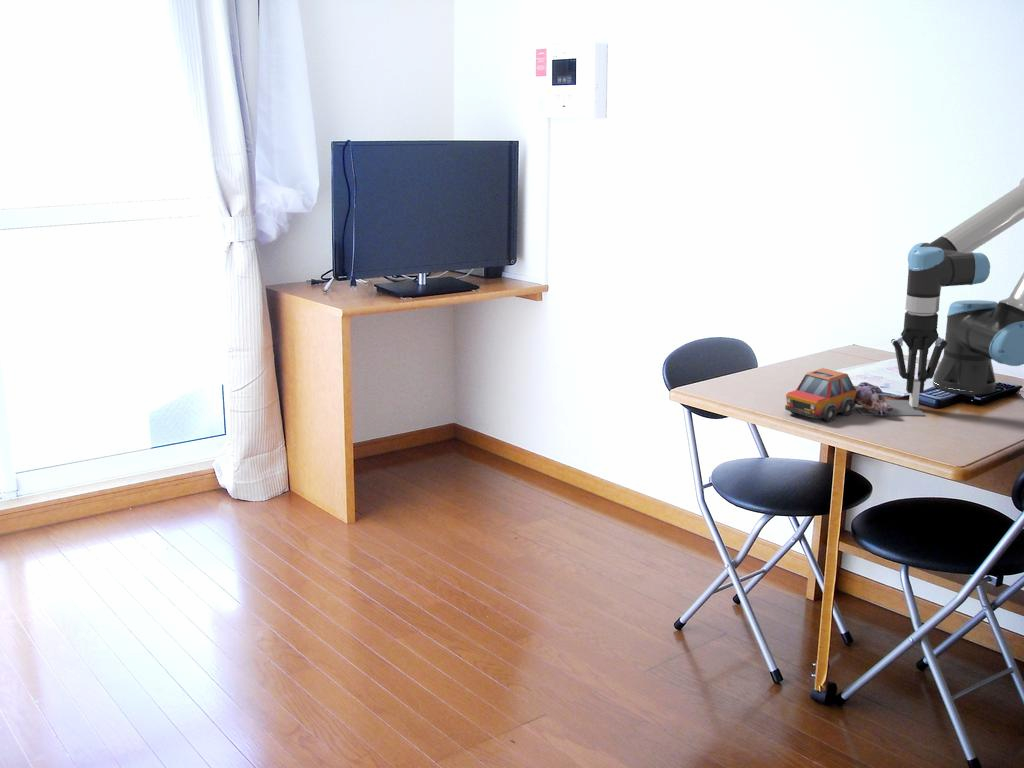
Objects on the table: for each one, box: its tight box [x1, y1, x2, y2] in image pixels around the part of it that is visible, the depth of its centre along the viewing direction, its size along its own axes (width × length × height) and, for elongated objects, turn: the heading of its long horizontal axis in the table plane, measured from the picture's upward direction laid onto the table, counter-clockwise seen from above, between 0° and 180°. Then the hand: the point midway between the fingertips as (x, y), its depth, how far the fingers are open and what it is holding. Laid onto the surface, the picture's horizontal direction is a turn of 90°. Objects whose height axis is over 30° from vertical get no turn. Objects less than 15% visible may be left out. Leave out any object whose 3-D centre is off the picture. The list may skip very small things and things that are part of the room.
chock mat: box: [854, 399, 926, 417], centre depth 260 cm, size 15×12×1 cm
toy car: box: [784, 367, 858, 423], centre depth 255 cm, size 12×17×10 cm
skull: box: [854, 381, 893, 416], centre depth 256 cm, size 12×8×6 cm, turn 11°
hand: (913, 405), depth 259 cm, fingers closed
